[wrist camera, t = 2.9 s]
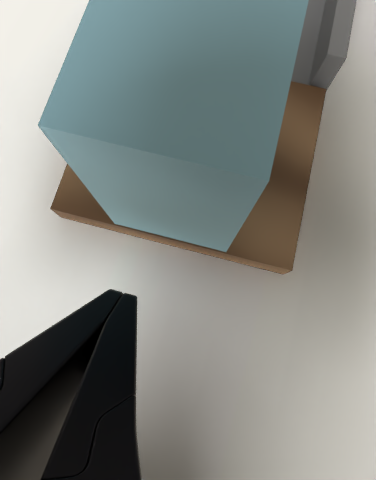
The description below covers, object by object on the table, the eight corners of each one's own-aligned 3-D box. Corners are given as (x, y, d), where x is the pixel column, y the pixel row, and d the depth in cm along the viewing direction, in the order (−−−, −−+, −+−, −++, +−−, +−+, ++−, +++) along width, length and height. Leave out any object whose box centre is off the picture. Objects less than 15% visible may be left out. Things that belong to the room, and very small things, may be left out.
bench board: (283, 274, 18) (291, 270, 16) (61, 217, 19) (50, 208, 17) (316, 105, 20) (326, 89, 19) (118, 60, 21) (113, 41, 20)
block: (225, 252, 17) (269, 181, 8) (114, 223, 17) (37, 125, 8) (254, 133, 18) (316, -35, 9) (151, 110, 19) (120, -75, 10)
